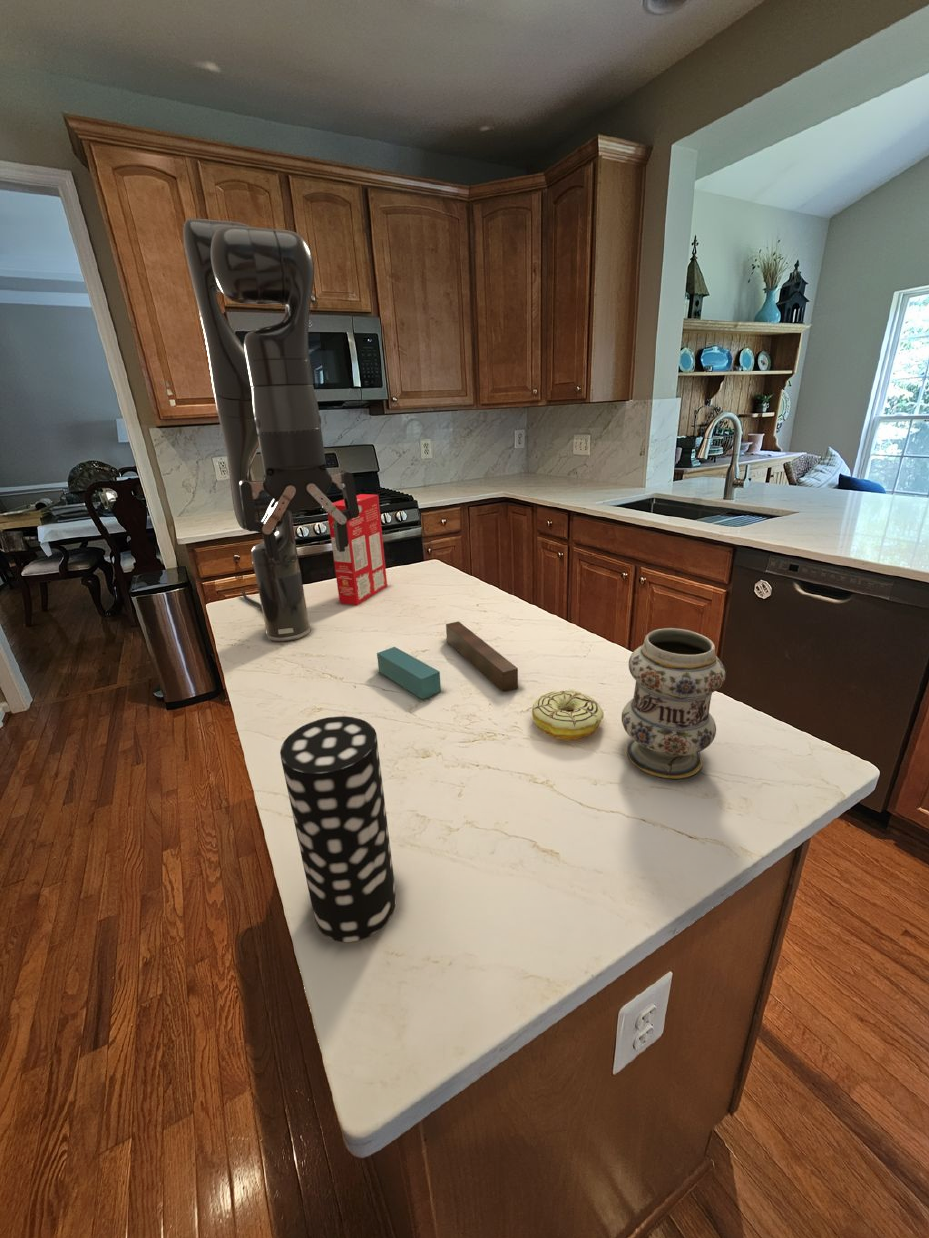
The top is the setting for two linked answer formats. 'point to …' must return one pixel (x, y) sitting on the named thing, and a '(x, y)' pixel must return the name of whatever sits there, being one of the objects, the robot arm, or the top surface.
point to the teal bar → (409, 672)
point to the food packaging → (360, 553)
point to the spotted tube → (341, 825)
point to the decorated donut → (567, 714)
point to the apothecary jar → (672, 702)
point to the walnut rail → (483, 657)
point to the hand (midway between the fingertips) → (309, 555)
